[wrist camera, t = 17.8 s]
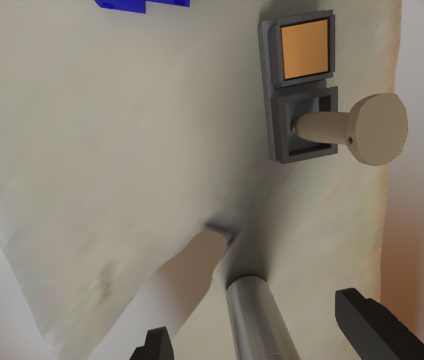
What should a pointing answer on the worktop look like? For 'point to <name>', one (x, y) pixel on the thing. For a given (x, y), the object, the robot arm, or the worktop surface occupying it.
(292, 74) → the button
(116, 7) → the blue curved piece
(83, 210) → the worktop surface
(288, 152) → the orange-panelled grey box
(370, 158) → the handle
